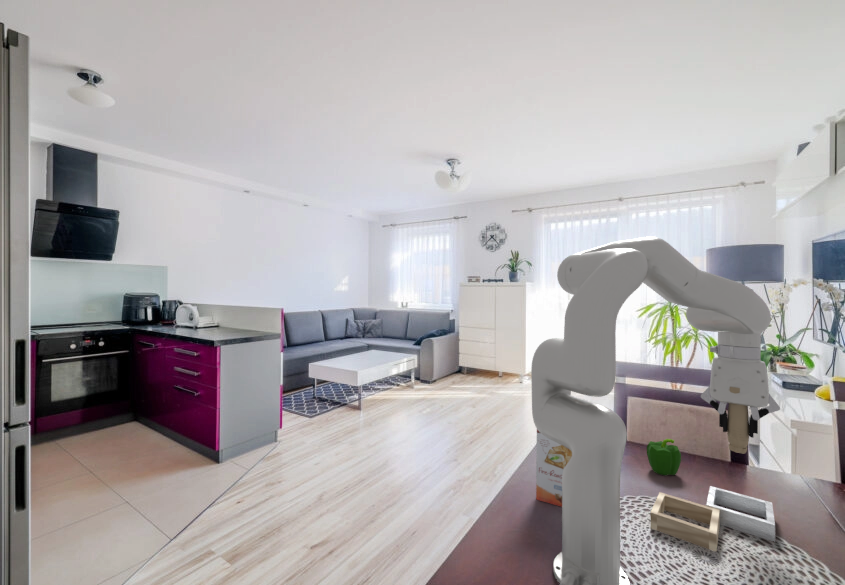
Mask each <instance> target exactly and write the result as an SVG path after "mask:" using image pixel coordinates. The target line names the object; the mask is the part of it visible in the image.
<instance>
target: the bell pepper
mask: <svg viewBox="0 0 845 585" xmlns="http://www.w3.org/2000/svg"><path fill="white" fill-rule="evenodd" d="M667 443H671V444H667ZM674 443H675V440H674V439H672V438H666V439H664V440H660V441H653V440H652V441H649V442H648V444H647V445H646V455H647V460H648V463H649V466H650V467H651V469H652V471H653V472H654V473H656V474H657V475H661V476H669V475H670V476H675V475H676V474H677V473H678V472H679V468H680V465H681V462H682V453H681V451H680V449H679V447H678V445H674Z"/></svg>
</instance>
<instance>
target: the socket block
mask: <svg viewBox="0 0 845 585" xmlns="http://www.w3.org/2000/svg"><path fill="white" fill-rule="evenodd" d="M719 505H720V506H719ZM705 506H708V507H711V508H715V509H718V510H720V525H721V526H723V527H726V528H730V529H731V530H732V529H733V530H736V531H739V532H742V533H746V534H749V535H751V536H754V537H757V538H760V539H764V540H767V541H770V542H773V541H774V543H776V522H775V513H774V506H773V502H771V501H767V500H763V499H760V498H757V497H753V496H750V495H746V494H742V493H738V492H735V491H731V490H727V489H723V488H721V487H715V486H712V485H710V486H709V489H708V495H707V500H706V504H705ZM725 507H726V508H725ZM733 509H734V510H733ZM736 510H737V511H736ZM739 511H740V512H739ZM746 513H747V514H746ZM753 515H754V516H753ZM763 518H764V519H763Z"/></svg>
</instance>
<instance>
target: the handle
mask: <svg viewBox="0 0 845 585" xmlns="http://www.w3.org/2000/svg"><path fill="white" fill-rule="evenodd" d="M729 391H730V392H731V393H735V394H736V393H740V388H735V387H730V390H729ZM727 414H728V416H727V432H726V434H727V442H728V449H729V450H730V451H731V452H734V453H735V454H736V453H739V454H742V455H743V454H746V453H747V452H748V445H749V442H750V440H749V439H750V436H749V417H750V415H749V406H745V405H739V404H732V403H728V409H727Z"/></svg>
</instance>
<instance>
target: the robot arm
mask: <svg viewBox="0 0 845 585" xmlns="http://www.w3.org/2000/svg"><path fill="white" fill-rule="evenodd" d="M556 274H557V275H556V276H557V277H556V278H557V282H558V284H559V285H560V288H561V289H562V290H564V291H565V292H566V293H568V294H569V295H573V296H571V299H570V300H569V303H568V305H567V307H566V310H565V313H564V314H565V315H564V327H563V328H564V329H563V331H564V332H563V338H557V337H555V338H548V339H546V340H544V341H543V342H541V343H540V344H539V345H538V346H537V348H536V350H535V351H534V352H533V353H534V354H533V356H532V360H531V368H530V369H531V372H530V373H531V374H530V376H531V379H530V380H531V411H532V412H531V413H532V419H533V420H532V421H533V423H534V426H535V428H536V431H537V430H538V431H539V432H540V433H541V434H542V435H544V436H545V437H547V438H549V439H551V440H553V441H555V442H557V443H559V444H561V445H563V446H564V447H566V448H568V449H569V450H571V451H572V457H571V459H570V461H569V462H568V463H567V465H566V466H565V468H564V471H563V475H562V507H561V512H562V514H561V522H562V523H561V524H562V525H561V539H562V540H561V551H560V552H559V553H558V554H557V555H556V556H555V558H553V562H552V563H553V565H552V566H553V568H552V569H553V570H552V571H553V575H554V578H555V580H556V579H557V580H556V581H557V583H558V582H559V583H560V584H559V583H558V585H631V582H630V579H629V577H628V575H627V574H626V572H624V570H623V569H622V568H621V474H622V473H621V472H622V471H621V470H622V463H623V458H624V453H625V450H626V444H627V437H628V434H627V427H626V424H625V422H624V420H622V418H621V416H619V415H618V414H617V413H616V412H615V411H613V410H612V409H610V408H609V407H607V406H605V405H602V404H600V403H597V402H593V401H591V400H588V399H585V398H581V397H577V396H574V395H572V394H571V393H572V392H573V393H577V394H581V395H584V396H588V397H593V398H601V397H605V396H607V395H609V394H610V393H611V392H612V391H613V389H614V387H615V384H616V378H617V374H616V373H617V361H616V359H617V358H616V356H617V355H616V353H617V351H616V350H617V348H616V346H617V344H616V339H617V338H616V329H617V320H618V315H619V312H620V310H621V308H622V307H623V305H624V303H625V302H626V301H627V300H628V298H630V296H631V295H632V294H633V293H634V292H635V291H637V290H638V288H640V286H642V284H645V285H646V286H647V287H648V288H650V290H652V291H653V292H655V293H656V294H658V295H659V296H660V297H661V298H663V299H664V300H665V301H666V302H669V303H671V304H675V305H678V306H680V307H685V308H687V309H686V312H685V313H686V314H685V317H686V320H687V322H688V324H689V325H690V326H692V327H693V328H695V329H696V330H699V331H705V332H713V333H714V332H715V333H717V345H715V346H710V345H709V346H710V347H709V352H710V353H714V354H716V355H717V356H714V357H713V359H712V363H711V367H710V368H711V370H710V379H709V380H710V381H709V382H710V383H709V386H708V387H706V389H705V390H704V391H703V392H702V393H701V395H700V398H701V399H702V401H705V402H706V403H708V404H709V405H710V406H711V407H712V408H714V410H715V411H717V413H718V415H719V422H718V423H719V428H722V432H723V433H728V432H727V418H728V412H727V410H726V408H727V404H729V403H732V404H739V405H745V406H748V407H749V409H750V412H751V414H750V415H749V438H752V439H753V438H754V437H755V435H754V434H756V435H757V434H758V435H759V431H758V430H759V429H758V428H759V426H758V424H759V423H758V422H759V421H760V419H761V418H763V417H765V416H767V415H768V414H769V415H770V414H771V413H775V412H778V411H780V410H781V406H780V405H779V404H778V403H777V401H776V400H775V399H774V398H773V396H772V395H771V394H770V393H769V391H770V389H769V375H768V369H767V366H766V362H765V361H762V359H761V352H762V351H761V346H762V345H761V341H762V340H761V337H762V336H761V335H762V334H761V333H763V332H765V331H766V330H767V329H768V327H769V326H770V324H771V320H772V315H771V311H770V308H769V306H768V305H767V303H766V302H765V300H764V299H763V298H762V297H760V295H758V293H757V292H756V291H754V289H752V288H750V287H749V286H747V285H745V284H743V283H741V282H738V281H735V280H733V279H729V278H727V277H723V276H720V275H717V274H714V273H711V272H708V271H704V270H701V269H699V268H698V267H697V266H695V265H694V264H693V263H691V261H689V260H688V259H687V258H686V257H685V256H684V255H682V253H680V252H679V251H678V250H677V249H676V248H674V247H673V246H672V245H671V244H670V243H669V242H667V241H666V240H664V239H663V238H660V237H657V236H646V237H645V236H644V237H638V238H633V239H626V240H625V239H624V240H618V241H612V242H609V243H606V244H603V245H600V246H597V247H593V248H590V249H587V250H583V251H580V252H577V253H573V254H570V255H568V256H566V258H564V259H563V260H562V261H561V263H560V264H559V265H558V268H557V273H556ZM730 387H735V388H740V393H736V394H735V393H731V392H730V391H729V390H730ZM759 408H760V409H759Z"/></svg>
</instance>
